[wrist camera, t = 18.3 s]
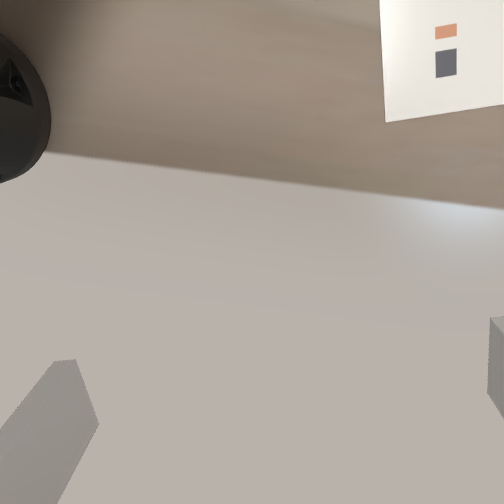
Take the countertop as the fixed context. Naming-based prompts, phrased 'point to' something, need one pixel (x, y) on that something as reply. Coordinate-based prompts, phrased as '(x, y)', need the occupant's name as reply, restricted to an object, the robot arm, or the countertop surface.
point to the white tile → (441, 56)
